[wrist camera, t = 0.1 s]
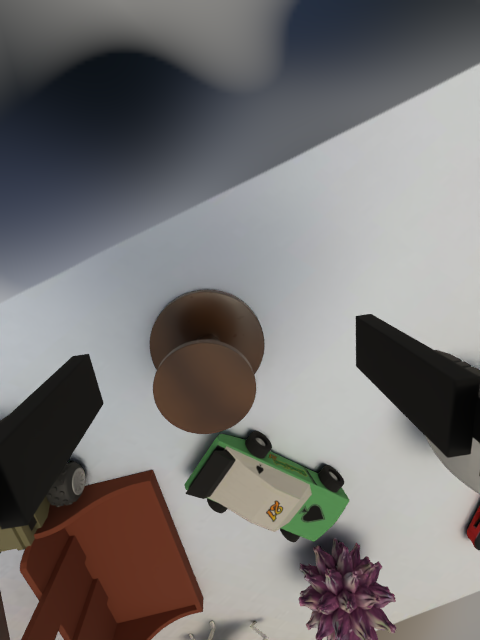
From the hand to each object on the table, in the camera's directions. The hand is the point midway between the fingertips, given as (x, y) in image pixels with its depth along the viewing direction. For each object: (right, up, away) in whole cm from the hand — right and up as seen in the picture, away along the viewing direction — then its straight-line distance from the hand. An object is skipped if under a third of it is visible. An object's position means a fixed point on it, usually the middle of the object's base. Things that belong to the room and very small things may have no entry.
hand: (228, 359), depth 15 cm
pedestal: (-3, -1, +18) cm, 19 cm away
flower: (+13, -31, +29) cm, 45 cm away
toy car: (+4, -18, +24) cm, 31 cm away
